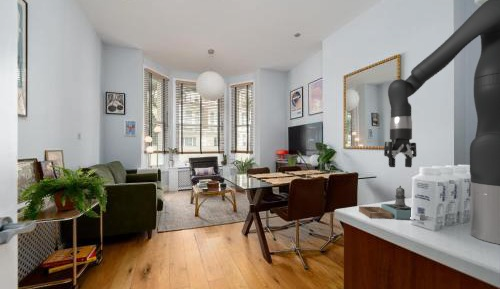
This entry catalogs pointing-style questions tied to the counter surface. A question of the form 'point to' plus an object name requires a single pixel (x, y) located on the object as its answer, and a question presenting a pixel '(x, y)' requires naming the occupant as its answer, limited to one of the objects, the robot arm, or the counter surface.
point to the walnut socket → (375, 212)
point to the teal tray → (398, 212)
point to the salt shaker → (400, 200)
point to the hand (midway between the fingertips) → (400, 167)
